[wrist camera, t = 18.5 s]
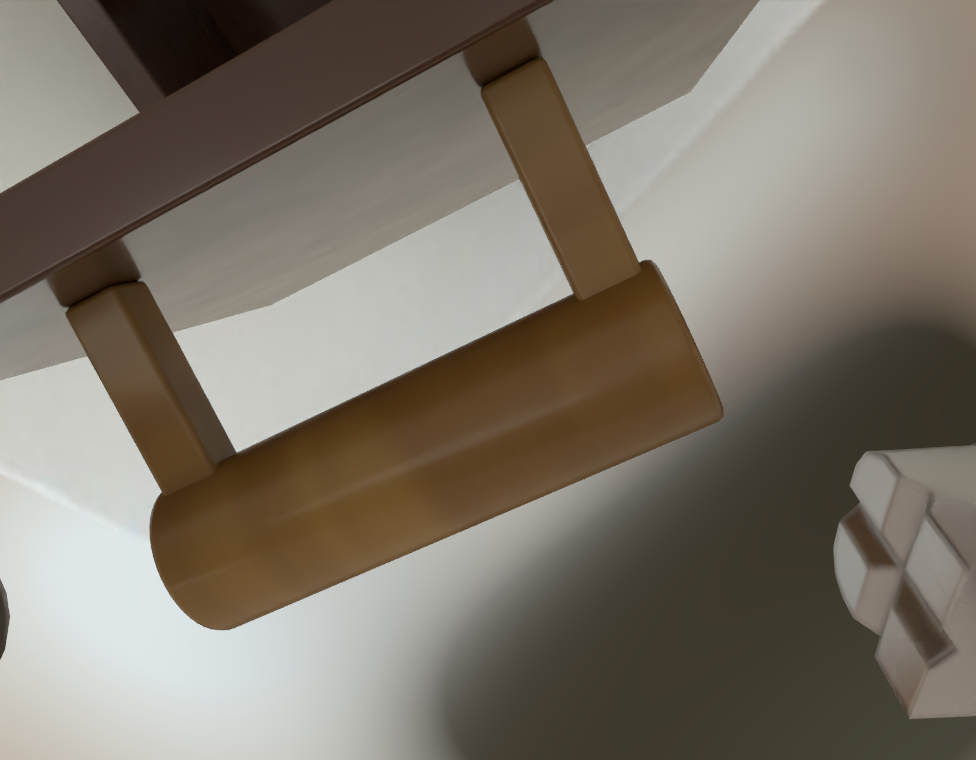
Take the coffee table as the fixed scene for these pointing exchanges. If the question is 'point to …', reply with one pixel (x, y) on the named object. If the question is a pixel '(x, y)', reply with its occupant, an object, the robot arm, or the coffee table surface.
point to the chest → (176, 37)
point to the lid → (346, 239)
